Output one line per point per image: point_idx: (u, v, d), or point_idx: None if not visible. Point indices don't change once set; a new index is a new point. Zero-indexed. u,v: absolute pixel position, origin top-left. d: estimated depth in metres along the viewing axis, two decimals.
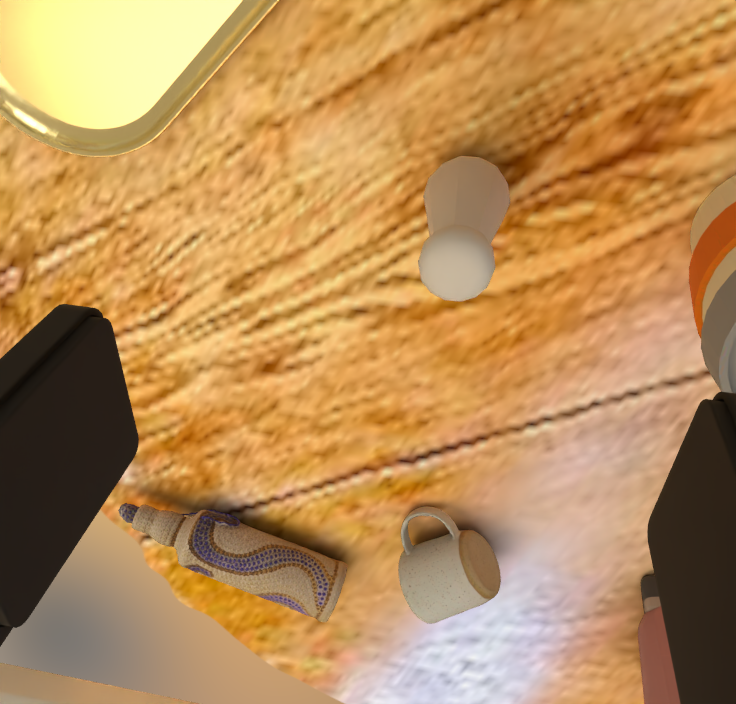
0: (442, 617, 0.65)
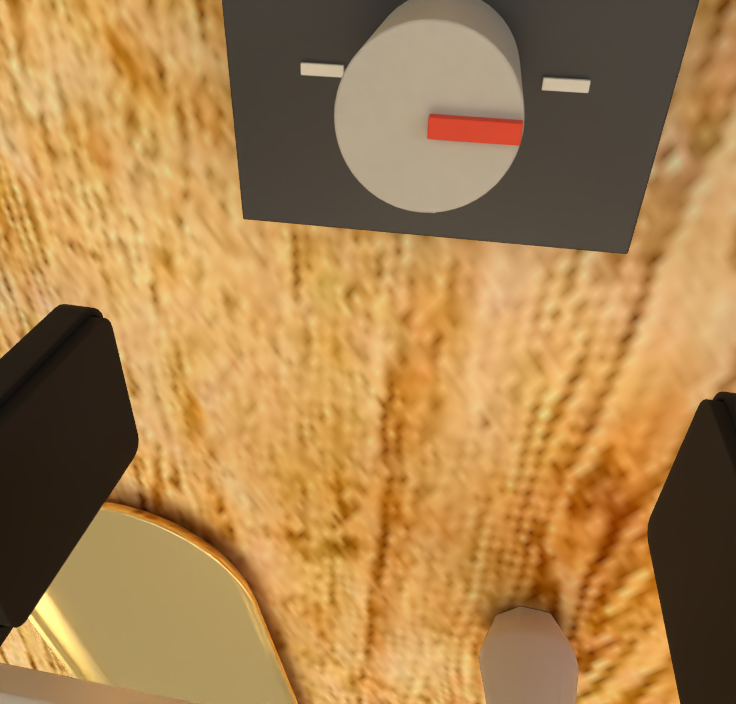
0: None
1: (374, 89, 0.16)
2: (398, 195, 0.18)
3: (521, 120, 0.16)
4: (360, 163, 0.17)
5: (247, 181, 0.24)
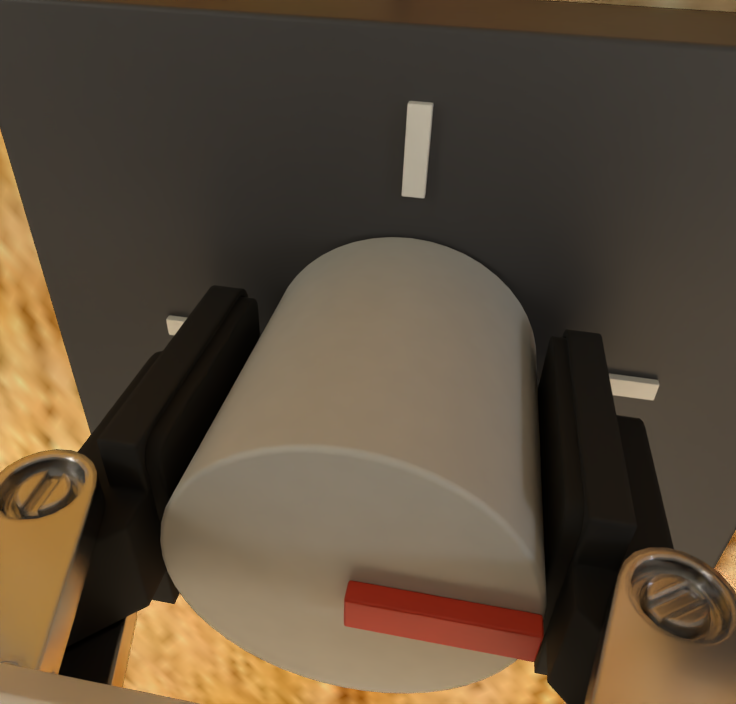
0: None
1: (232, 533, 0.08)
2: (300, 664, 0.09)
3: (539, 619, 0.08)
4: (222, 618, 0.09)
5: None
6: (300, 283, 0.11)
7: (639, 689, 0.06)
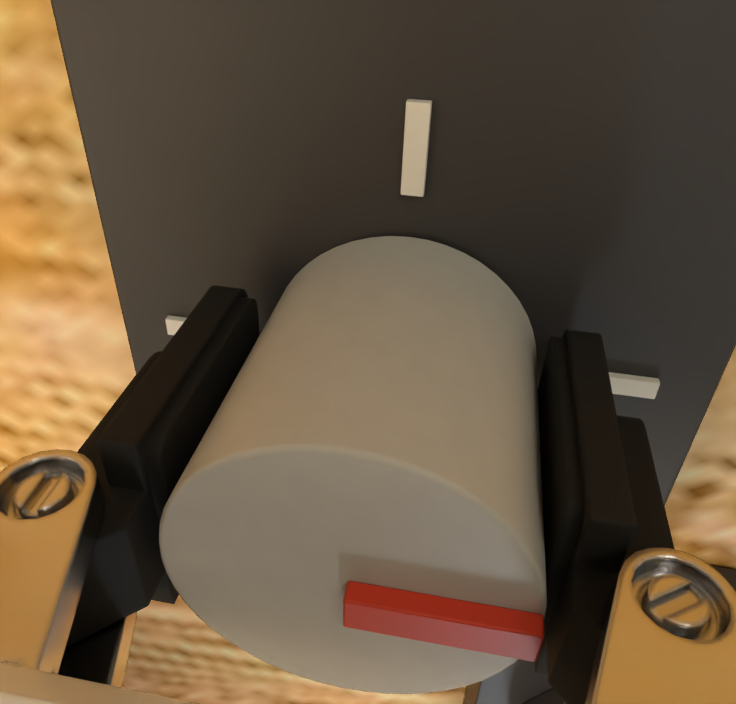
0: None
1: (230, 534, 0.08)
2: (300, 665, 0.09)
3: (540, 619, 0.07)
4: (222, 619, 0.09)
5: None
6: (298, 283, 0.11)
7: (639, 689, 0.06)
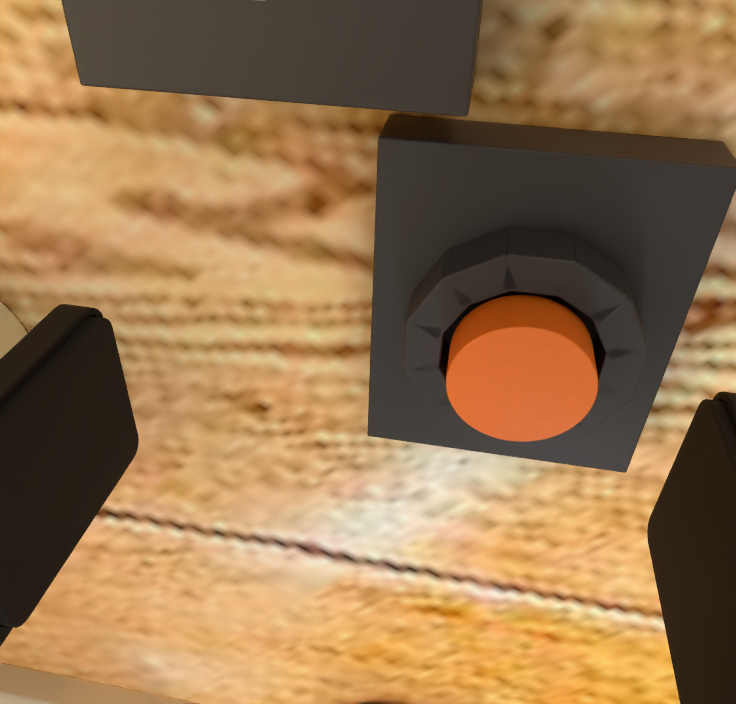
0: None
1: None
2: None
3: None
4: None
5: None
6: None
7: None
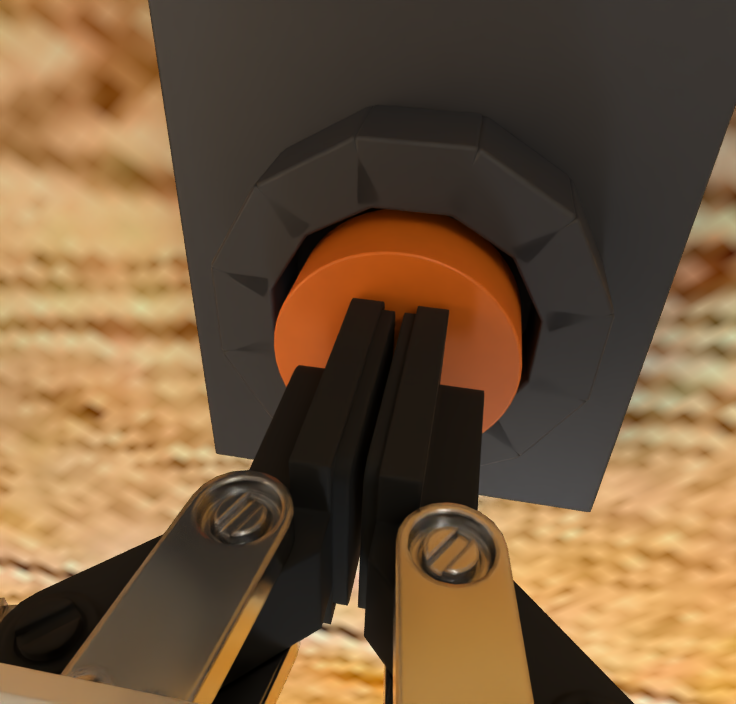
0: None
1: None
2: None
3: None
4: None
5: None
6: None
7: (434, 649, 0.06)
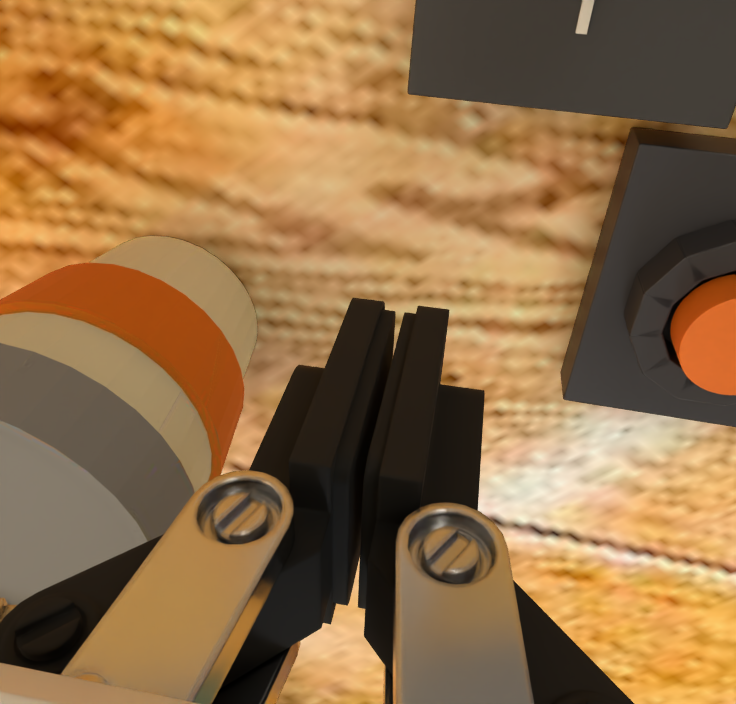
0: None
1: None
2: None
3: None
4: None
5: None
6: None
7: (435, 649, 0.06)
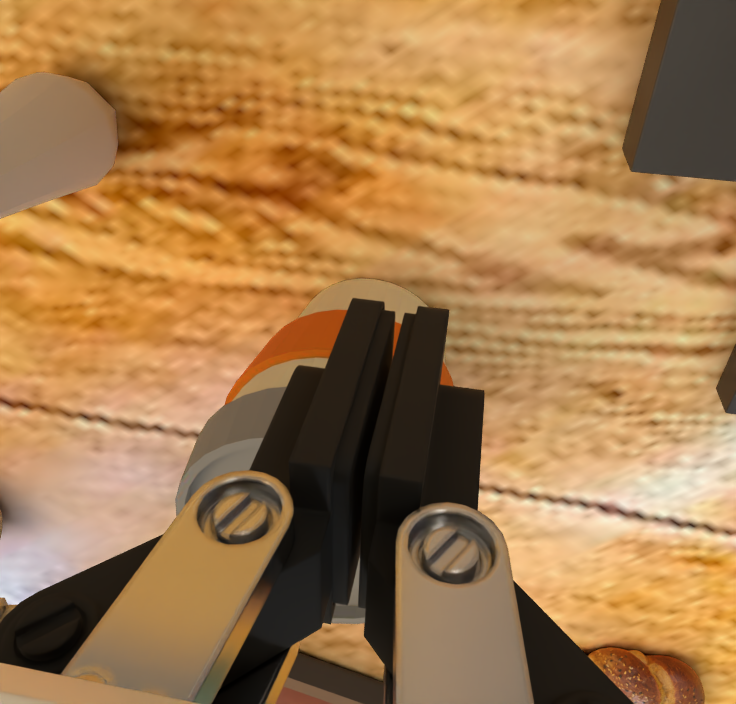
0: None
1: None
2: None
3: None
4: None
5: None
6: None
7: (435, 648, 0.06)
